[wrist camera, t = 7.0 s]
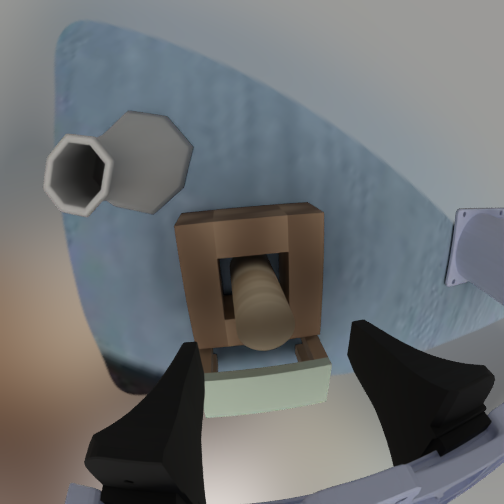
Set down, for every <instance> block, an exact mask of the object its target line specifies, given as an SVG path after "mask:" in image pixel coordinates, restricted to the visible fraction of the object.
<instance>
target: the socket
mask: <svg viewBox="0 0 504 504" xmlns="http://www.w3.org/2000/svg"><path fill="white" fill-rule="evenodd" d="M174 228H175V235H176V242H177V249H178V255H179V261H180V267H181V273H182V279H183V285H184V290H185V296H186V301H187V306H188V311H189V316H190V321H191V326H192V331H193V336H194V340H195V342H197V343H198V348H199V349H205V348H217V347H228V346H238V345H244V344H243V343H242V342H241V341H240V339H239V338H238V335H237V331H236V322H235V313H234V304H233V295H223V287H222V278H221V270H220V261H219V259H221V258H231V257H241V256H251V255H261V254H271V253H279V280H280V286H281V288H282V291H283V293H284V295H285V298H286V300H287V302H288V304H289V307H290V309H291V311H292V313H293V316H294V319H295V329H294V332H293V334H292V336H291V337H290V338H289V339H294V338H300V337H307V336H313V335H319V334H320V326H321V309H322V289H323V261H324V212H322V211H321V210H319V209H318V208H316V207H314V206H313V205H311V204H310V203H308V202H304V203H290V204H276V205H263V206H251V207H240V208H229V209H218V210H208V211H199V212H190V213H181V215H180V217H179V219H178V220H177V222H176V224H175V226H174Z"/></svg>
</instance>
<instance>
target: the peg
mask: <svg viewBox="0 0 504 504" xmlns="http://www.w3.org/2000/svg"><path fill="white" fill-rule="evenodd" d="M230 275H231V285H232V294H233V304H234V313H235V322H236V331H237V335H238V338H239V339H240V341H241V342H242V343H243V344H244V345H245V346H247V347H249V348H251V349H254V350H260V351H266V350H272V349H275V348H277V347H279V346H281V345H283V344H284V343H286V342H287V341H288V340H289V338H290V337H291V336H292V334H293V332H294V329H295V319H294V316H293V313H292V311H291V309H290V307H289V304H288V302H287V300H286V298H285V295H284V293H283V291H282V288H281V286H280V284H279V282H278V279H277V277H276V275H275V273H274V270H273V268H272V266H271V264H270V261H269V259H268V257H267V256H266V254H261V255H251V256H241V257H233V258H232V260H231V262H230Z"/></svg>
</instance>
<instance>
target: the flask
mask: <svg viewBox="0 0 504 504" xmlns="http://www.w3.org/2000/svg"><path fill="white" fill-rule="evenodd" d="M192 150H193V146H192V145H191V144H190V142H189V141H188V140H187V139H186V138H185V137H184V135H183V134H182V133H181V132H180V131H179V130H178V128H177V127H176V126H175V125H174V124H173V123H172V121H171V120H170V119H169V118H168V117H167V116H162V115H156V114H149V113H143V112H136V111H127V112H126V113H125V114H124V115H123V116H122V117H121V118H120V119H119V120H118V121H117V122H116V123H115V124H114V125H113V126H112V127H111V128H110V129H109V130H107V131H106V132H105V133H104V134H103V135H102V136H99V137H97V138H96V137H92V136H84V135H75V134H66V135H65V136H64V137H63V138H62V139H61V141H60V142H59V143H58V144H57V146H56V147H55V148H54V149H53V151H52V152H51V153H50V155H49V156H48V157H47V161H46V167H45V175H44V185H43V190H44V191H45V192H46V194H47V195H48V196H49V198H50V199H51V200H52V201H53V203H54V204H55V205H56V207H57V208H58V209H59V210H60V212H64V213H69V214H74V215H78V216H83V217H88V216H90V215H91V213H92V212H93V211H94V210H95V209H96V208H97V207H98V206H99V204H100V203H101V202H102V201H108V202H109V203H111V204H112V205H114V206H116V207H120V208H125V209H129V210H134V211H139V212H144V213H149V214H155V213H156V212H157V211H158V210H159V209H160V208H161V207H162V206H164V205H165V204H166V203H167V202H168V201H169V200H170V199H171V198H172V197H174V196H175V195H176V194H177V193H178V192H179V191H180V190H181V189H183V188H184V184H185V179H186V175H187V171H188V166H189V162H190V158H191V154H192Z"/></svg>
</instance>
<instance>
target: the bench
mask: <svg viewBox="0 0 504 504" xmlns="http://www.w3.org/2000/svg"><path fill="white" fill-rule="evenodd" d="M300 338H301V341H302V343H303V344H297V345H295V354H296V357H297V360H298V363H291V364H285V365H278V366H271V367H263V368H255V369H246V370H237V371H226V372H218V360H217V355H216V354H213V348H205V349H199V352H200V357H201V362H202V366H203V370H204V377H205V398H204V412H205V416H206V418H209V417H225V416H236V415H246V414H255V413H263V412H270V411H278V410H283V409H290V408H296V407H302V406H307V405H312V404H317V403H322V402H326V400H327V394H328V388H329V380H330V374H331V367H332V364H331V362H330V360H329V358H328V356H327V354H326V352H325V350H324V348H323V346H322V344H321V342H320V340H319V338H318V336H317V335H313V336H307V337H300Z"/></svg>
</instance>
